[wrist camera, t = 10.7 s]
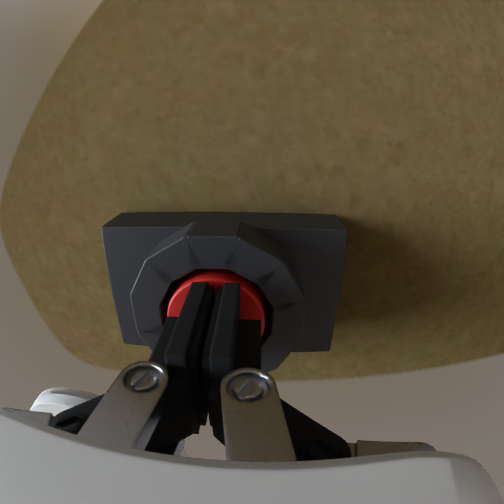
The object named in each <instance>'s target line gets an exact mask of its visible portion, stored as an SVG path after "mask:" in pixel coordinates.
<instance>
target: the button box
mask: <svg viewBox="0 0 504 504" xmlns="http://www.w3.org/2000/svg"><path fill="white" fill-rule="evenodd" d="M101 230H102V237H103V244H104V251H105V257H106V263H107V268H108V274H109V279H110V284H111V289H112V294H113V299H114V304H115V308H116V313H117V317H118V321H119V325H120V329H121V333H122V337H123V341H124V343H126V344H135V345H145V346H149V348H150V349H151V350H152V351H153V349H154V347H155V345H156V342H157V340H158V337H159V335H160V333H161V331H162V328H163V326H164V324H165V321H166V319H167V317H168V316H167V313H168V306H169V303H170V301H171V298H172V296H173V294H174V292H175V290H176V288H177V286H178V283H179V281H180V279H181V278H182V277H183V276H185V275H186V274H188V273H190V272H192V271H194V270H196V269H230V270H232V271H234V272H235V273H237V274H239V275H241V276H243V277H245V278H247V279H248V280H250V281H252V282H254V283H256V284H258V286H259V287H260V289H261V290H262V292H263V294H264V309H265V327H264V331H263V334H262V336H261V370H262V371H264V372H269V371H271V370H274V369H276V368H277V367H278V366H279V365H280V364H281V363H282V362H283V361H284V360H285V358H286V357H287V356H288V355H289V354H290V353H291V352H317V351H329V350H330V345H331V340H332V335H333V329H334V324H335V318H336V312H337V306H338V300H339V293H340V287H341V280H342V273H343V266H344V258H345V251H346V242H347V234H348V229H347V228H346V227H345V226H344V225H343V224H342V222H341V221H340V220H339V219H338V218H337V217H336V215H324V214H292V213H242V212H157V213H121V214H119V215H118V216H116V217H115V218H113V219H112V220H111V221H109V222H108V223H106V224H105V225H103V226H102V227H101Z"/></svg>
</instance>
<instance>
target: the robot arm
mask: <svg viewBox="0 0 504 504" xmlns="http://www.w3.org/2000/svg"><path fill="white" fill-rule="evenodd" d="M208 413H209V420H210V425H211V426H212V428H213V435H214V437H216V438H217V439H218V440H219V441H220V442H221V443H222V444H223V445H224V446H225V448H226V458H227V461H225V460H211V459H201V458H191V457H182V456H180V454H181V452H182V449H183V446H184V439H185V438H186V437H188V436H190V435H192V434H199V428H200V425H206V422H207V416H208ZM0 504H504V500H503V498H502V496H501V494H500V492H499V490H498V488H497V486H496V484H495V483H494V481H493V479H492V478H491V476H490V475H489V473H488V472H487V470H486V469H485V468H484V467H483V466H482V465H481V464H480V463H478V462H477V461H476V460H474V459H472V458H470V457H468V456H464V455H461V454H455V453H449V452H439V451H436V450H435V449H434V448H433V447H432V446H430V445H429V444H426V443H422V442H380V441H379V442H378V441H361V440H358V441H357V443H355V444H354V443H347V442H346V441H345V440H344V439H342V438H341V437H340V436H338V435H337V434H335V433H333V432H332V431H330V430H328V429H327V428H325V427H323V426H322V425H320V424H319V423H317V422H315V421H314V420H312V419H311V418H309V417H308V416H306V415H304V414H303V413H301V412H300V411H298V410H297V409H295V408H294V407H292V406H291V405H289V404H288V403H286V402H285V401H283V400H282V399H280V397H279V393H278V390H277V386H276V383H275V381H274V379H273V377H271V376H270V375H269V374H268V373H266V372H264V371H262V370H261V320H251V319H241V303H240V283H224V287H220V286H218V290H217V294H216V298H215V290H214V286H209V283H208V282H192V283H191V286H190V288H189V291H188V293H187V296H186V298H185V301H184V304H183V306H182V309H181V311H180V314H179V316H178V317H176V316H169V317H167V319H166V321H165V324H164V326H163V328H162V331H161V333H160V335H159V337H158V340H157V342H156V345H155V347H154V349H153V352H152V354H151V356H150V359H149V361H139V362H135V363H132V364H130V365H128V366H127V367H125V368H124V369H123V370H122V371H121V372H120V374H119V375H118V377H117V378H116V379H115V381H114V382H113V384H112V385H111V386H110V388H109V389H108V391H107V392H106V393H105V394H103V395H101V396H98V397H96V398H93V399H91V400H89V401H86V402H84V403H81V404H79V405H77V406H74V407H72V408H69V409H67V410H64V411H62V412H60V413H59V414H57V415H56V416H53V414H52V413H47V412H37V411H27V410H19V409H12V408H1V409H0Z"/></svg>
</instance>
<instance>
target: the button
mask: <svg viewBox="0 0 504 504" xmlns="http://www.w3.org/2000/svg"><path fill="white" fill-rule="evenodd" d="M192 282H208V283H209V286H214V290H215V298H216V294H217V290H218V286H220V287H224V283H240V303H241V319H251V320H261V336H262V334H263V331H264V327H265V309H264V294H263V292H262V290H261V289H260V287H259V286H258V284H256V283H254V282H252V281H250V280H248V279H247V278H245V277H243V276H241V275H239V274H237V273H235V272H234V271H232V270H230V269H196V270H194V271H192V272H190V273H188V274H186V275H185V276H183V277H182V278H181V279H180V281H179V283H178V286H177V288H176V290H175V292H174V294H173V296H172V298H171V301H170V303H169V306H168V313H167V316H168V317H169V316H176V317H178V316H179V314H180V311H181V309H182V306H183V304H184V301H185V298H186V296H187V293H188V291H189V288H190V286H191V283H192Z"/></svg>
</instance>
